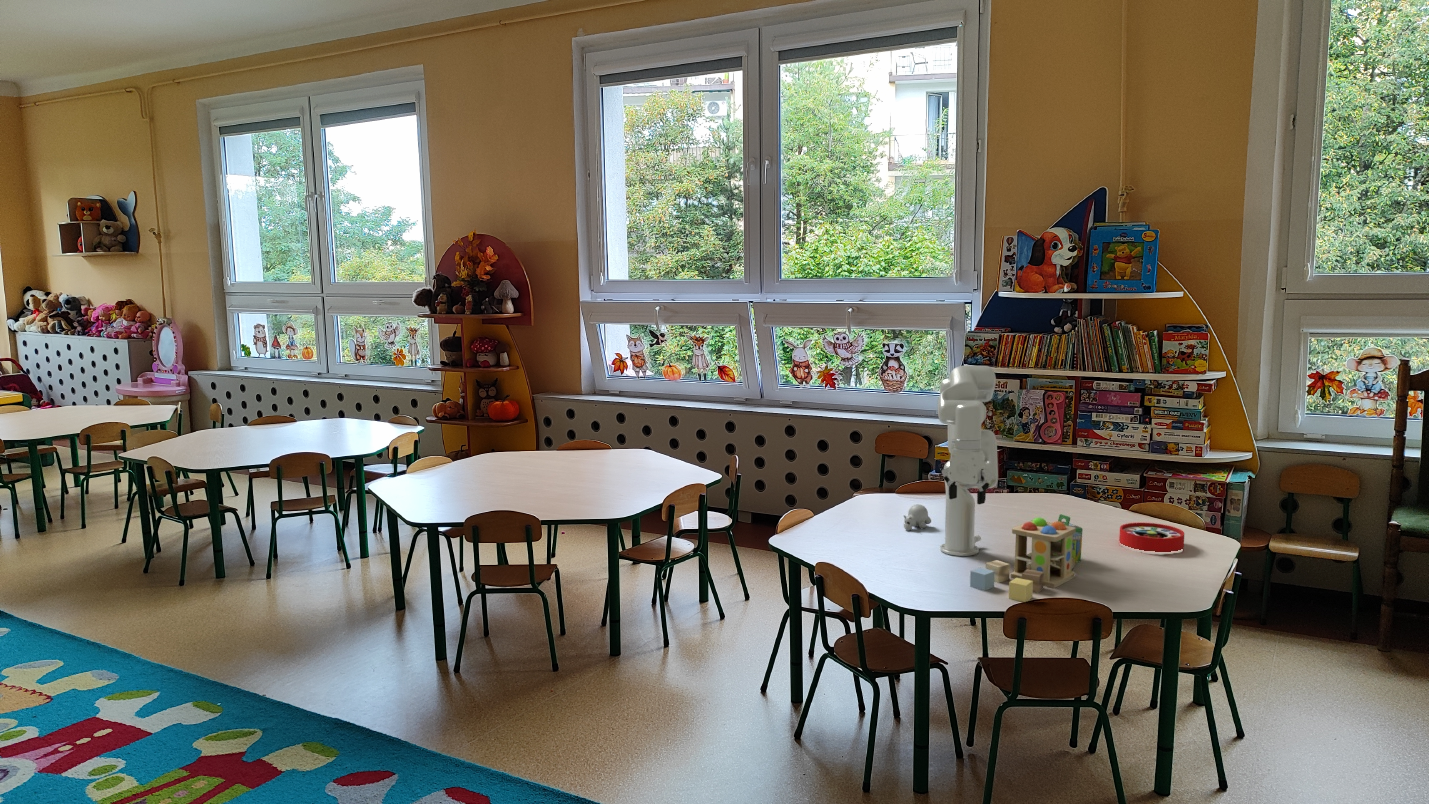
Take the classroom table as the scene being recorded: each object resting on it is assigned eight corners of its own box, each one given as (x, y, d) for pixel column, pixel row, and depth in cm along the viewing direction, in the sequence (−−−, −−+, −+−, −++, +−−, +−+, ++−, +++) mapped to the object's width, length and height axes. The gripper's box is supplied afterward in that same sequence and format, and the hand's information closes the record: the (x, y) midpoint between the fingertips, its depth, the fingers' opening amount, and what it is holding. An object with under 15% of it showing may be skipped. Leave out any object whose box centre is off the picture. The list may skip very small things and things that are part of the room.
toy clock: (1182, 541, 303) (1115, 533, 313) (1181, 559, 303) (1115, 550, 314) (1186, 526, 320) (1123, 519, 330) (1185, 543, 320) (1123, 535, 331)
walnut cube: (1026, 585, 281) (1027, 569, 280) (1043, 588, 278) (1043, 571, 277) (1021, 589, 277) (1021, 573, 276) (1038, 592, 274) (1039, 576, 273)
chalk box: (1039, 557, 307) (1041, 514, 305) (1061, 554, 310) (1063, 511, 308) (1059, 565, 298) (1061, 520, 296) (1082, 562, 301) (1083, 517, 299)
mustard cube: (1015, 594, 273) (1016, 577, 273) (1032, 597, 270) (1032, 581, 269) (1008, 598, 270) (1009, 582, 269) (1025, 602, 266) (1026, 585, 266)
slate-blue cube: (979, 583, 283) (980, 567, 282) (994, 587, 279) (994, 571, 279) (970, 586, 280) (970, 570, 279) (984, 591, 276) (984, 574, 276)
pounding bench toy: (1044, 561, 303) (1045, 507, 301) (1087, 570, 293) (1089, 515, 291) (1009, 578, 287) (1011, 521, 285) (1053, 588, 277) (1055, 530, 275)
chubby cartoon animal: (899, 535, 345) (893, 515, 342) (920, 518, 351) (914, 499, 348) (914, 539, 339) (908, 519, 336) (935, 521, 345) (929, 502, 342)
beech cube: (996, 575, 290) (997, 560, 289) (1009, 579, 286) (1009, 564, 285) (985, 578, 287) (985, 563, 287) (998, 583, 283) (998, 567, 282)
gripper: (936, 443, 282) (935, 498, 284) (986, 449, 269) (985, 507, 271) (950, 440, 287) (949, 494, 289) (1000, 446, 274) (999, 503, 276)
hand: (966, 501), depth 280 cm, fingers open, 9 cm apart
